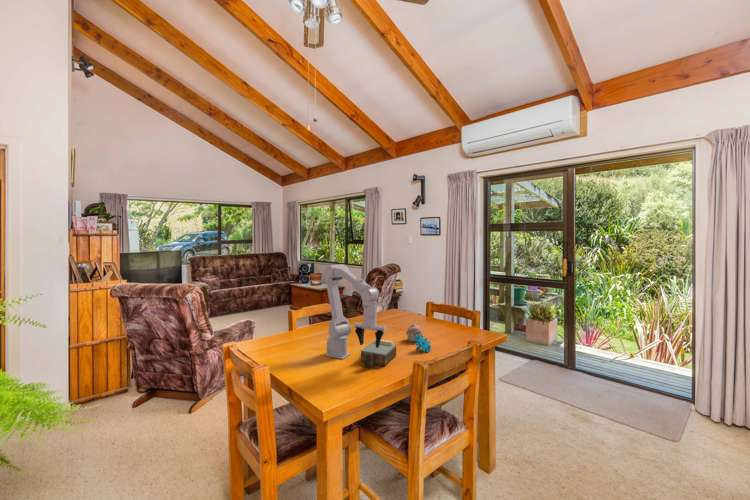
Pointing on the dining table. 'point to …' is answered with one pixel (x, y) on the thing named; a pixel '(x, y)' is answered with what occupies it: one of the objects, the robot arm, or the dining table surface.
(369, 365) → the block
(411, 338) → the cupcake
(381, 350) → the lid
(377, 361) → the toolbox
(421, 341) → the gear
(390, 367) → the dining table surface
